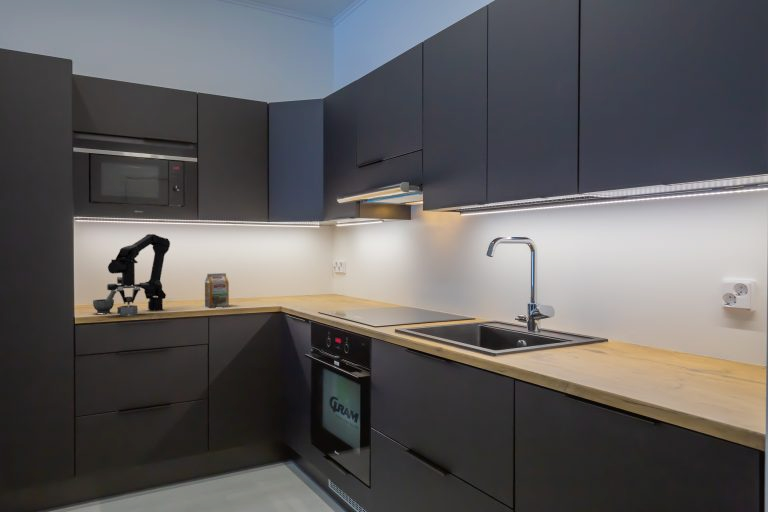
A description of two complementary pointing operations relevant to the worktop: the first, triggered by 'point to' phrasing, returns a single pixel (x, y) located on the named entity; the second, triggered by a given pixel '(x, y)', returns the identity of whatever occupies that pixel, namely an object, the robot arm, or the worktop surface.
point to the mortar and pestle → (104, 303)
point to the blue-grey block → (127, 310)
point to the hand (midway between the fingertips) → (128, 303)
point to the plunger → (128, 300)
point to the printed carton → (216, 290)
